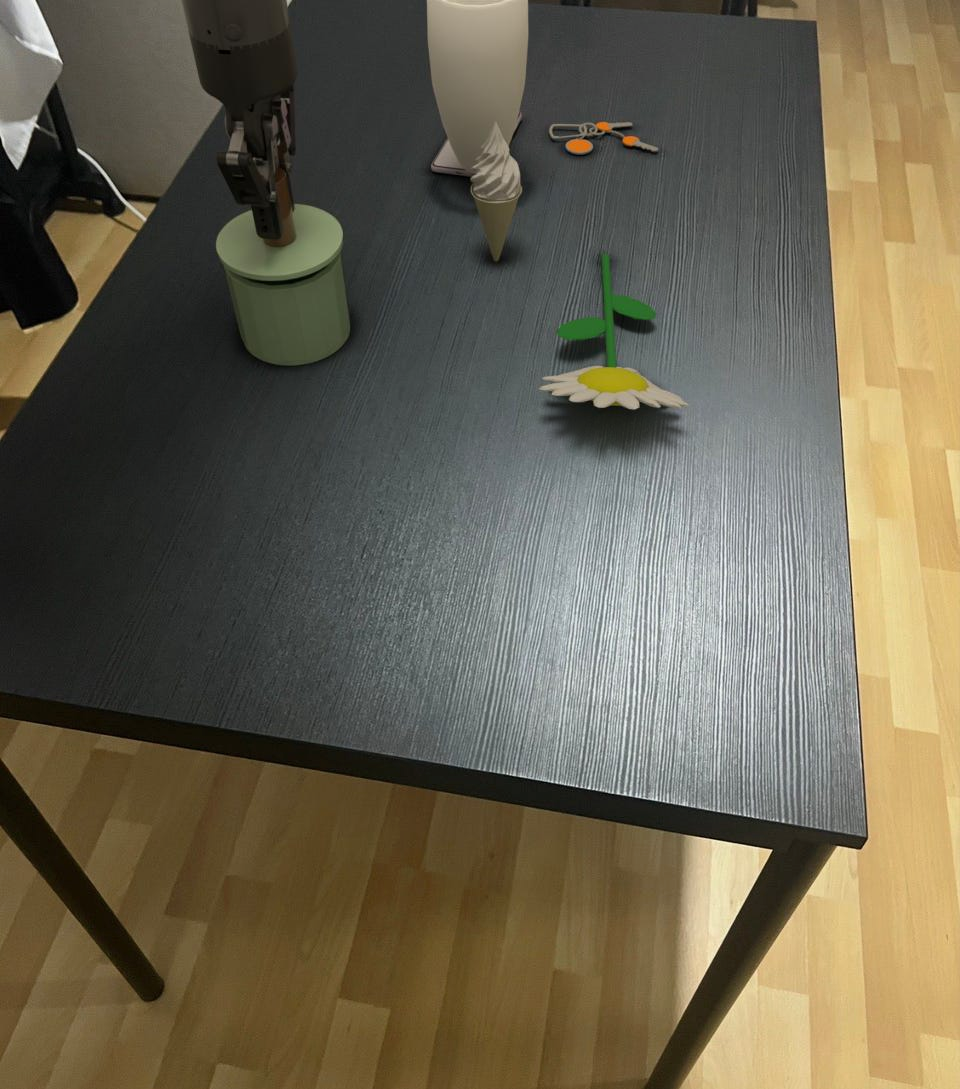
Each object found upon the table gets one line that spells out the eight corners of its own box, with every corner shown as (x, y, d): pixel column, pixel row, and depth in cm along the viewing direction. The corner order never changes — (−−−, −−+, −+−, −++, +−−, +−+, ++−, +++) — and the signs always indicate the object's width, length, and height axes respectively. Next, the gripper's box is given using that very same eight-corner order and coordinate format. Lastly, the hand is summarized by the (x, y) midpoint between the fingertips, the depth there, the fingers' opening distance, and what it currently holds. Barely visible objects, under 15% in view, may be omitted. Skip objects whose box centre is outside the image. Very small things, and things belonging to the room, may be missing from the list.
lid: (280, 303, 84) (265, 227, 79) (192, 256, 89) (172, 181, 83) (370, 243, 90) (362, 168, 84) (283, 201, 94) (270, 128, 89)
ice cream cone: (495, 240, 106) (496, 101, 94) (530, 260, 103) (535, 119, 92) (461, 260, 103) (457, 120, 92) (496, 280, 101) (496, 139, 90)
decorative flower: (541, 277, 105) (534, 449, 83) (546, 234, 102) (539, 401, 79) (661, 287, 105) (686, 462, 83) (670, 244, 101) (698, 414, 79)
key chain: (549, 155, 116) (549, 148, 116) (548, 123, 121) (548, 117, 121) (659, 155, 116) (659, 148, 115) (653, 124, 121) (654, 117, 120)
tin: (296, 380, 91) (281, 304, 85) (219, 336, 96) (199, 260, 89) (372, 324, 97) (364, 248, 90) (297, 285, 101) (283, 210, 94)
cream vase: (512, 219, 108) (514, 15, 91) (422, 204, 110) (407, 2, 93) (537, 167, 114) (544, -34, 97) (451, 153, 116) (442, -46, 99)
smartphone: (428, 166, 114) (467, 104, 123) (429, 173, 114) (467, 111, 124) (489, 174, 112) (523, 111, 121) (489, 181, 113) (523, 117, 122)
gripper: (219, -21, 79) (258, 180, 92) (156, 59, 70) (209, 268, 83) (311, -16, 78) (337, 186, 91) (259, 65, 69) (296, 276, 83)
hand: (276, 224), depth 87 cm, fingers closed on lid, 3 cm apart
